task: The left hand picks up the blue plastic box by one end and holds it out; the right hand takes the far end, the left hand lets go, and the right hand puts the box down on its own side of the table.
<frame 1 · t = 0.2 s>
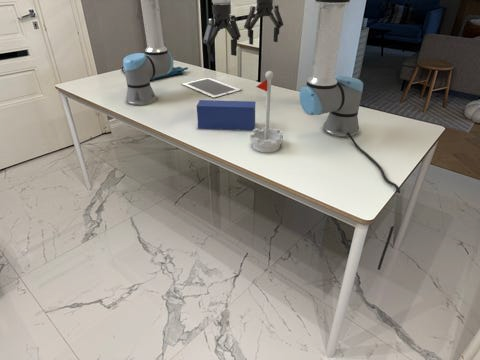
left hand: (223, 58, 148), 27 cm above the table, tool pointing down, fingers open, 13 cm apart
right hand: (263, 43, 166), 29 cm above the table, tool pointing down, fingers open, 13 cm apart
flag stand: (266, 146, 138), on the table
submachine gun: (160, 74, 224), on the table
tablet: (211, 87, 201), on the table
box: (227, 126, 154), on the table
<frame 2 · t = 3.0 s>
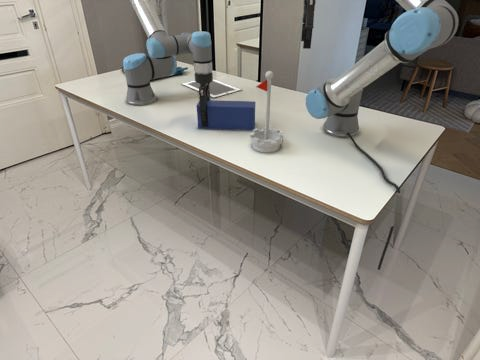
left hand: (206, 122, 154), 1 cm above the table, tool pointing down, fingers closed on box, 7 cm apart
right hand: (305, 44, 132), 36 cm above the table, tool pointing down, fingers open, 13 cm apart
box: (227, 126, 154), on the table, touching left hand
everything else where it was.
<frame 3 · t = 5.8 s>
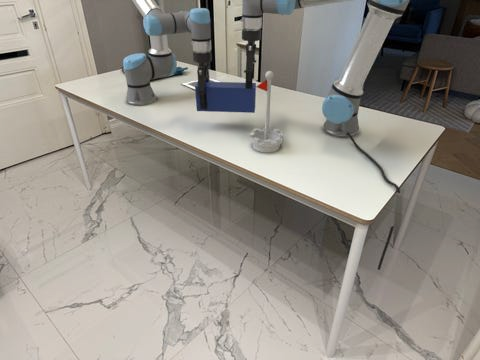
left hand: (205, 105, 150), 10 cm above the table, tool pointing down, fingers closed on box, 7 cm apart
right hand: (249, 83, 143), 20 cm above the table, tool pointing down, fingers open, 13 cm apart
box: (226, 108, 150), point 8 cm above the table, touching left hand
everything else where it was.
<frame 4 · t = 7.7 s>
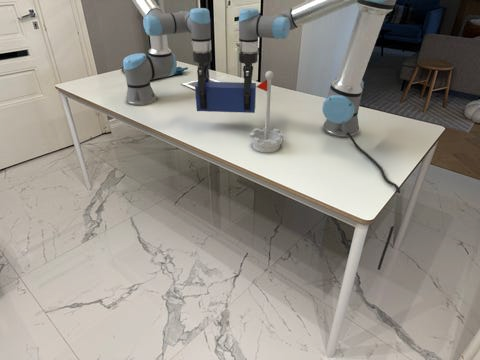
left hand: (205, 105, 150), 10 cm above the table, tool pointing down, fingers closed on box, 7 cm apart
right hand: (247, 106, 148), 10 cm above the table, tool pointing down, fingers closed on box, 7 cm apart
box: (226, 108, 150), point 8 cm above the table, touching right hand, left hand
everything else where it was.
when the left hand's fingers open (10 cm above the table, at t = 8.6 s): box stays where it is, held by the right hand.
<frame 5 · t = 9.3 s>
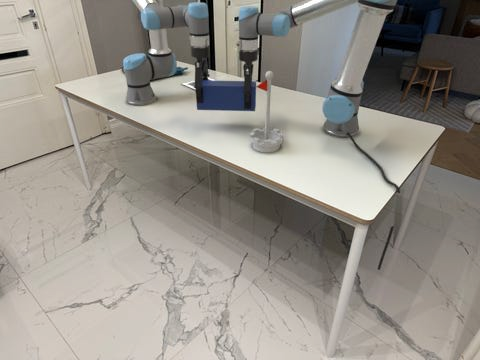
left hand: (202, 97, 148), 13 cm above the table, tool pointing down, fingers open, 13 cm apart
right hand: (248, 104, 148), 10 cm above the table, tool pointing down, fingers closed on box, 7 cm apart
box: (226, 107, 149), point 9 cm above the table, touching right hand
everything else where it was.
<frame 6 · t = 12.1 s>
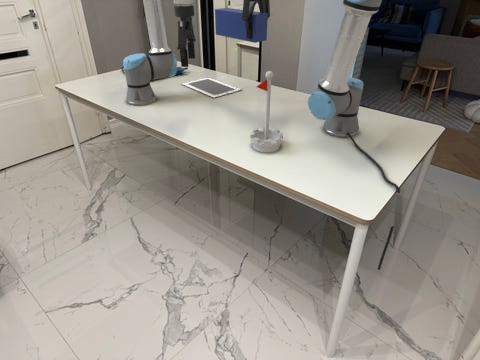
left hand: (188, 62, 140), 28 cm above the table, tool pointing down, fingers open, 13 cm apart
right hand: (255, 36, 147), 35 cm above the table, tool pointing down, fingers closed on box, 7 cm apart
box: (240, 37, 153), point 34 cm above the table, touching right hand
everything else where it was.
when the right hand's fingers open (3 cm above the table, at t = 16.7 s): box drops 2 cm, on the table.
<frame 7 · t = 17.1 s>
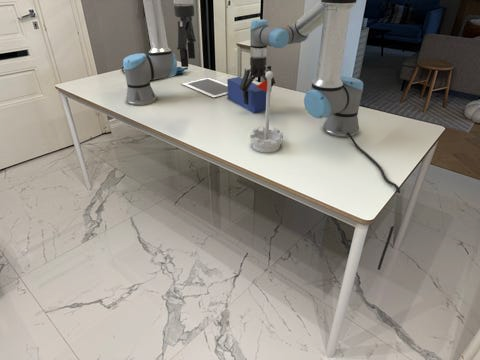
left hand: (188, 62, 140), 28 cm above the table, tool pointing down, fingers open, 13 cm apart
right hand: (257, 101, 168), 5 cm above the table, tool pointing down, fingers open, 12 cm apart
box: (246, 104, 177), on the table
everything else where it was.
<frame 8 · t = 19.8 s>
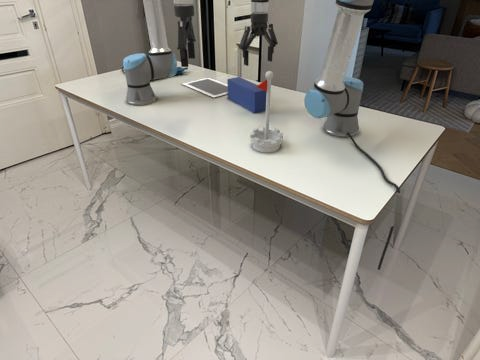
left hand: (188, 62, 140), 28 cm above the table, tool pointing down, fingers open, 13 cm apart
right hand: (258, 63, 158), 23 cm above the table, tool pointing down, fingers open, 13 cm apart
nothing on the table moved.
at the end: box inside the target area (9.5 cm from its centre), on the table; the left hand is holding nothing; the right hand is holding nothing; box at rest at the end (0.0 cm/s) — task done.
